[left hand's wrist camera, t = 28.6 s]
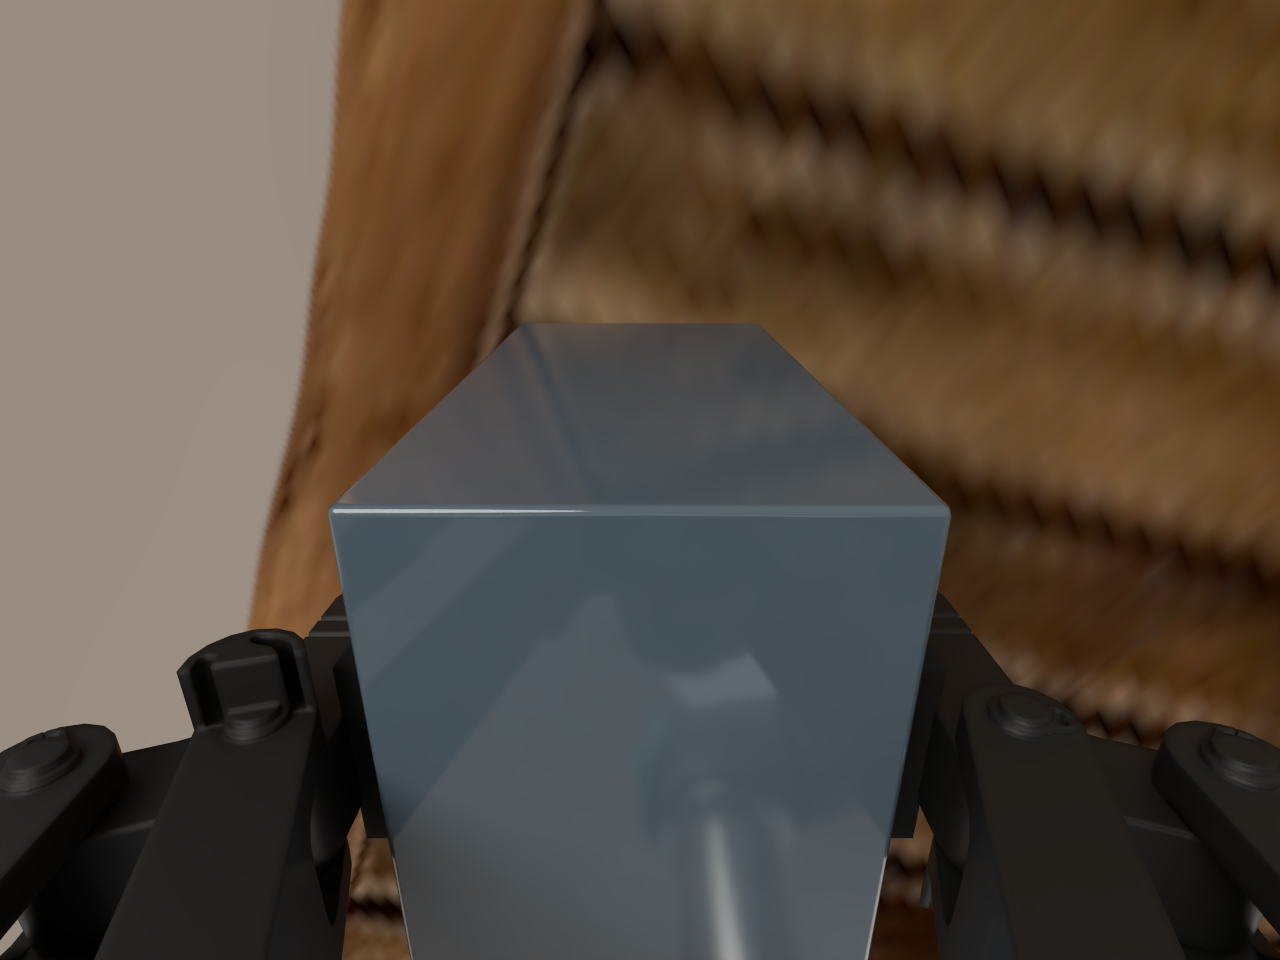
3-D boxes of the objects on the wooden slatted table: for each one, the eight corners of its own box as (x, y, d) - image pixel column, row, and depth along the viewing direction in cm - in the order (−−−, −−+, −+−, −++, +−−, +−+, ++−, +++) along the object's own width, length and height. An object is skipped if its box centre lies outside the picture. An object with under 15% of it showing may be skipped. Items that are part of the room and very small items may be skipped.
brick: (759, 322, 16) (956, 507, 6) (741, 605, 19) (854, 1046, 9) (520, 322, 16) (321, 507, 6) (538, 605, 19) (423, 1046, 9)
